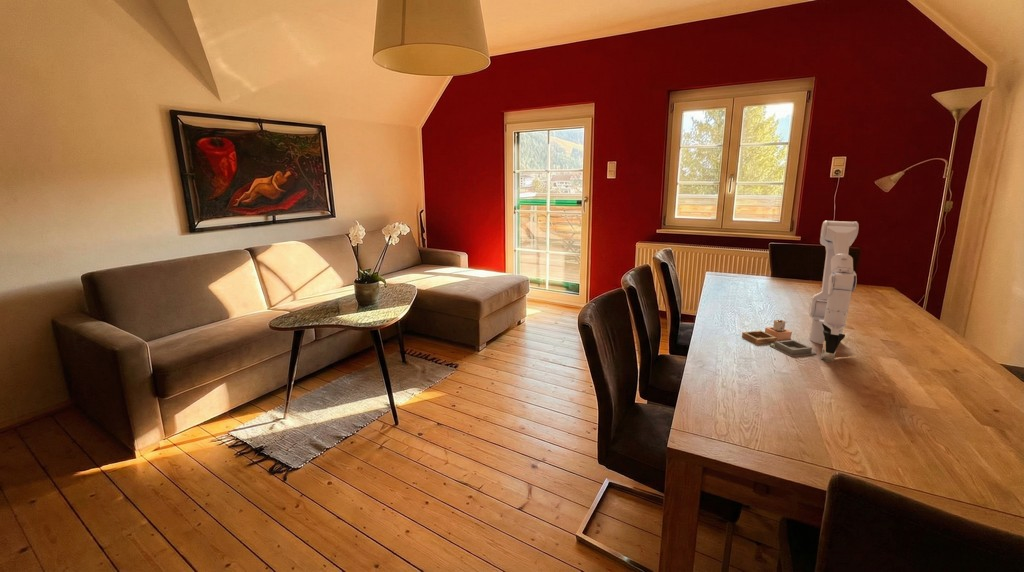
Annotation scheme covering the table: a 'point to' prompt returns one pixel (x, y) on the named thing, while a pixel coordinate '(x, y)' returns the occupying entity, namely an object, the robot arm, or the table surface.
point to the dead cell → (779, 325)
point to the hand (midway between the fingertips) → (829, 348)
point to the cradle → (793, 348)
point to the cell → (827, 354)
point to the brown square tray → (759, 337)
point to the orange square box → (779, 333)
